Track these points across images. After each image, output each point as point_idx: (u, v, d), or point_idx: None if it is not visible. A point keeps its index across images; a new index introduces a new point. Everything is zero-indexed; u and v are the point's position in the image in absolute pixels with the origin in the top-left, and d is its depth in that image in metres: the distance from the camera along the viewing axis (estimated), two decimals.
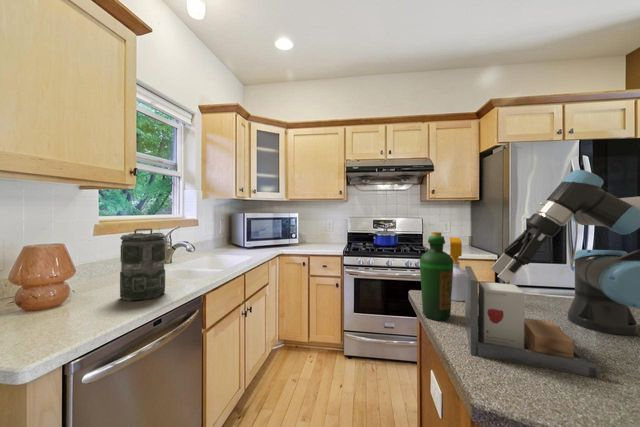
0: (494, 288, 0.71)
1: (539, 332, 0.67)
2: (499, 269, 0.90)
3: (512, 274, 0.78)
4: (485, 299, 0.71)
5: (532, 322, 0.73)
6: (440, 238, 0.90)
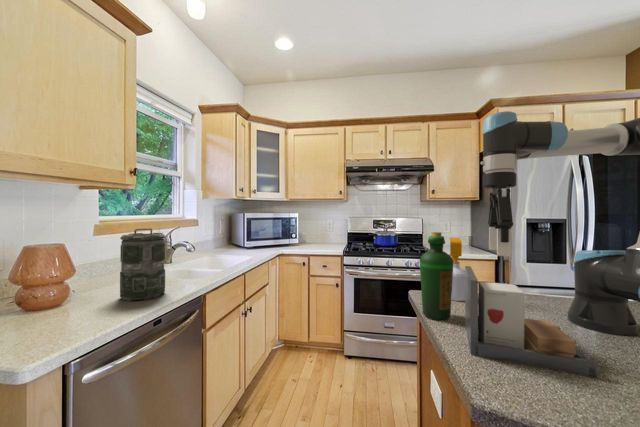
0: (494, 288, 0.71)
1: (540, 333, 0.67)
2: None
3: (508, 244, 0.67)
4: (485, 299, 0.71)
5: (531, 322, 0.73)
6: (440, 238, 0.90)
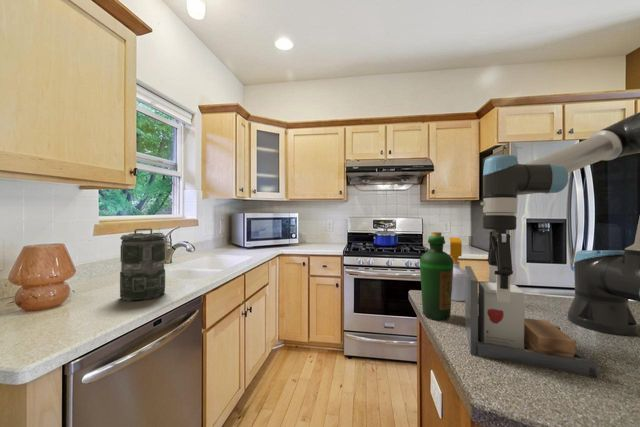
0: (494, 288, 0.71)
1: (540, 333, 0.67)
2: None
3: (507, 290, 0.67)
4: (485, 299, 0.71)
5: (529, 322, 0.73)
6: (440, 238, 0.90)
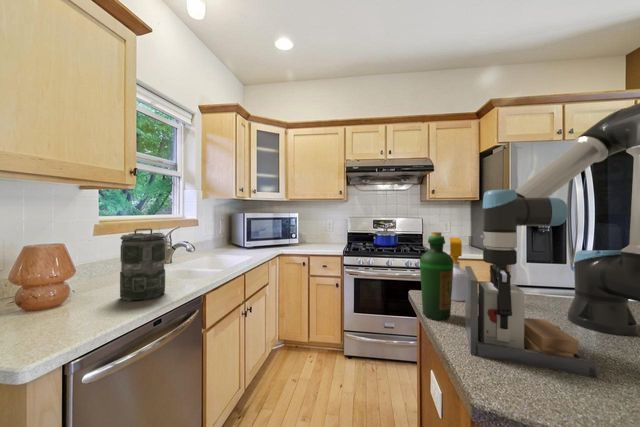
0: (494, 288, 0.71)
1: (543, 333, 0.66)
2: None
3: (507, 330, 0.68)
4: (485, 299, 0.71)
5: (529, 322, 0.73)
6: (440, 238, 0.90)
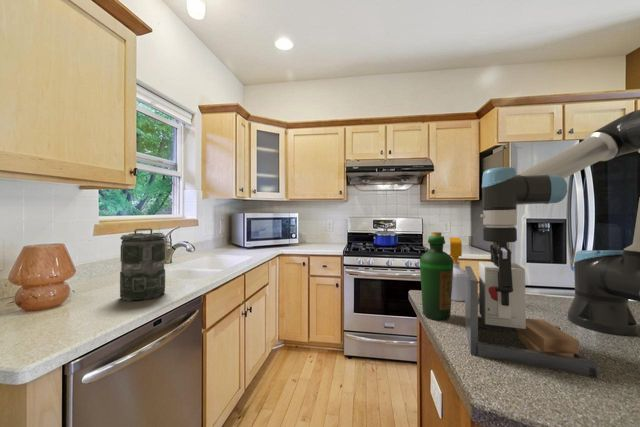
0: (495, 266, 0.71)
1: (543, 333, 0.66)
2: None
3: (509, 307, 0.68)
4: (486, 277, 0.71)
5: (528, 322, 0.73)
6: (440, 238, 0.90)
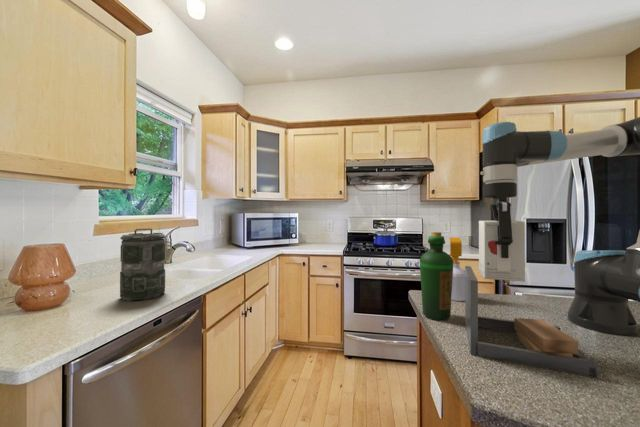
0: (494, 221, 0.71)
1: (543, 334, 0.66)
2: None
3: (508, 259, 0.68)
4: (485, 231, 0.71)
5: (527, 322, 0.73)
6: (440, 238, 0.90)
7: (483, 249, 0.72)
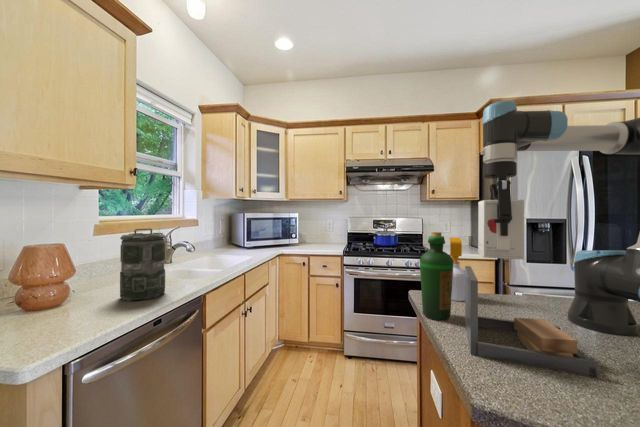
0: (494, 200, 0.71)
1: (542, 333, 0.66)
2: None
3: (507, 237, 0.68)
4: (485, 210, 0.71)
5: (527, 322, 0.73)
6: (440, 238, 0.90)
7: (482, 228, 0.72)
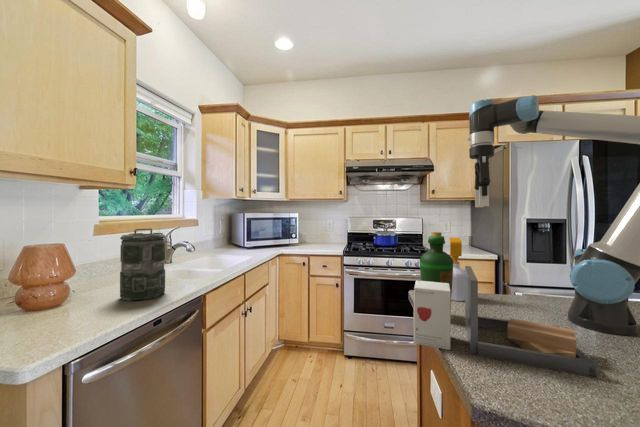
0: (424, 286, 0.73)
1: (559, 334, 0.66)
2: None
3: (487, 197, 0.90)
4: (415, 297, 0.72)
5: (522, 326, 0.71)
6: (440, 238, 0.90)
7: None
